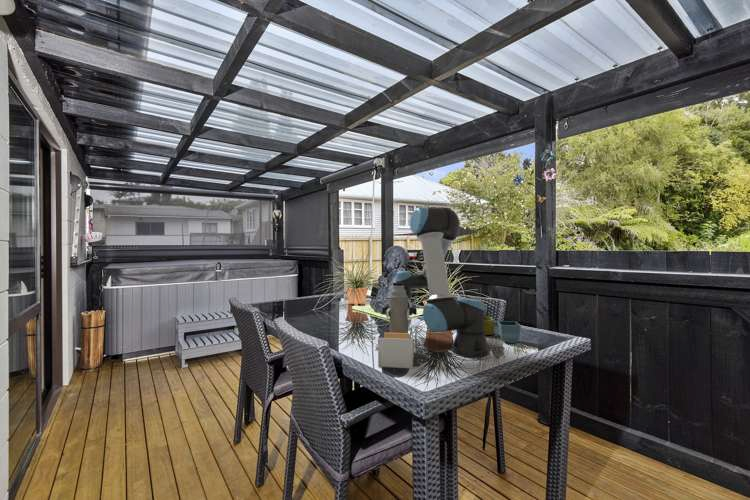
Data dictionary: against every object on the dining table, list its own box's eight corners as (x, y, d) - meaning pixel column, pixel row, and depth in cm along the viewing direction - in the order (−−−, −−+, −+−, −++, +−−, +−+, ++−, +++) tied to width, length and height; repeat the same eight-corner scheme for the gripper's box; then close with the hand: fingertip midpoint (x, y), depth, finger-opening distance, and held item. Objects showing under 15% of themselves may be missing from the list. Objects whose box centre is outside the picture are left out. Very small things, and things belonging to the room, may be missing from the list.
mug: (493, 327, 187) (490, 311, 184) (498, 338, 177) (495, 321, 174) (470, 331, 189) (467, 315, 186) (473, 342, 179) (470, 325, 176)
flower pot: (497, 339, 172) (497, 320, 172) (516, 339, 171) (516, 321, 171) (501, 344, 163) (501, 324, 163) (520, 344, 162) (521, 325, 162)
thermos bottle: (404, 343, 159) (403, 281, 158) (410, 348, 151) (410, 283, 150) (387, 345, 156) (386, 282, 156) (393, 350, 149) (392, 284, 148)
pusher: (384, 357, 142) (384, 332, 142) (409, 358, 141) (409, 333, 140) (383, 360, 139) (383, 334, 138) (409, 361, 137) (408, 335, 137)
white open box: (383, 352, 152) (383, 327, 151) (414, 354, 150) (414, 328, 150) (378, 366, 135) (378, 338, 135) (412, 368, 133) (412, 339, 133)
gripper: (423, 313, 169) (422, 324, 147) (380, 312, 173) (373, 322, 150) (423, 297, 169) (422, 306, 147) (380, 297, 173) (373, 305, 150)
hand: (397, 314), depth 149 cm, fingers closed on thermos bottle, 8 cm apart
